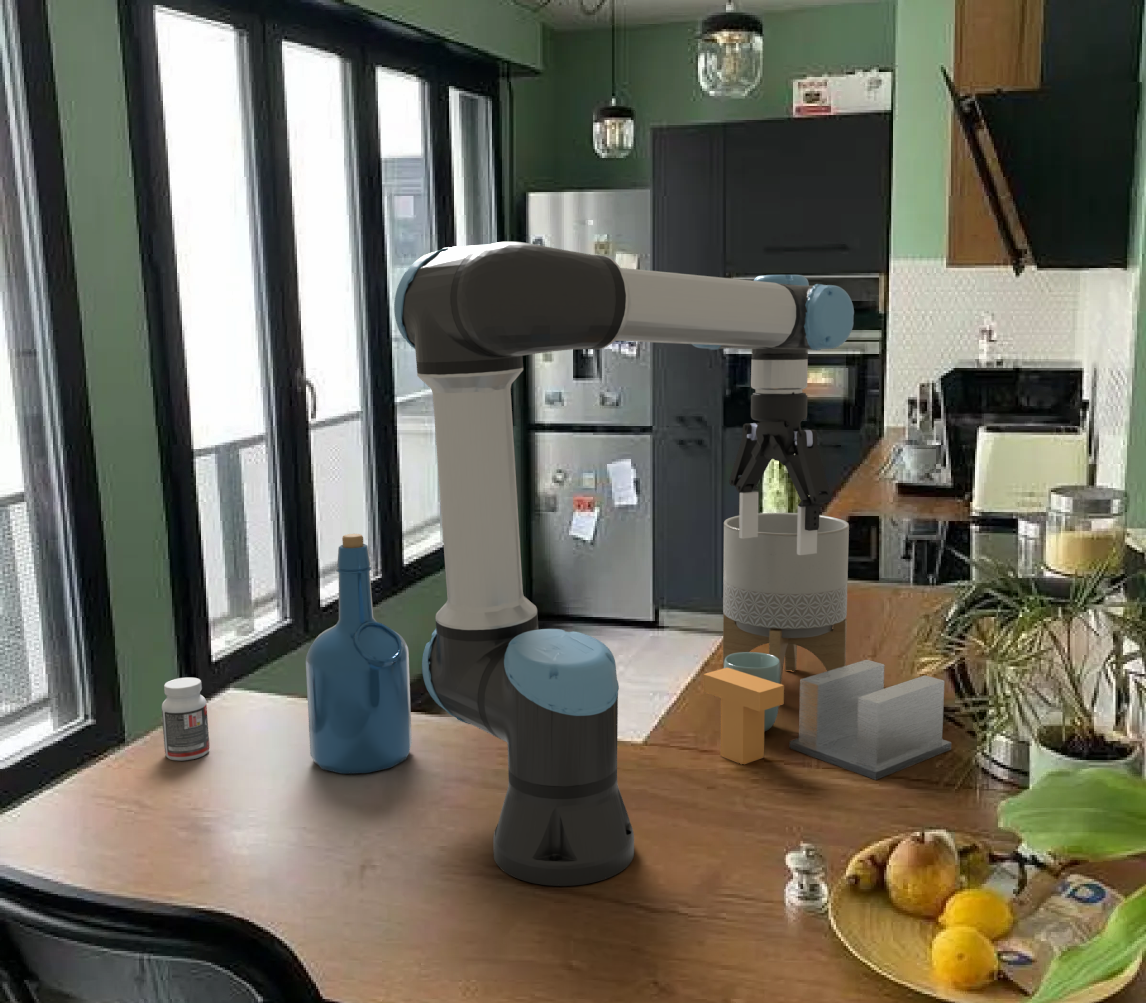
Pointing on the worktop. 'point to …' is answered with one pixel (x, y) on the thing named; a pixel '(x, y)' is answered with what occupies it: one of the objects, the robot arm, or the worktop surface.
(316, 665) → the wine bottle
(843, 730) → the bracket
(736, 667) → the cup
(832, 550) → the planter
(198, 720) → the pill bottle
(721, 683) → the orange t-shaped block
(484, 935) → the worktop surface
